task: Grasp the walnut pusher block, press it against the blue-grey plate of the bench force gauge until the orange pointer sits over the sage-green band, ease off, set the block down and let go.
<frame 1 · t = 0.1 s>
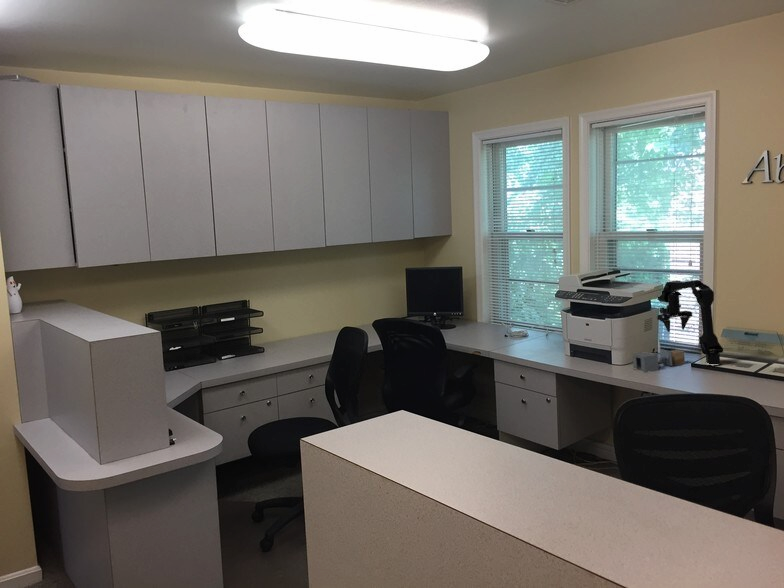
hand: (675, 330, 361), 15 cm above the table, fingers open, 9 cm apart
pusher block: (676, 364, 345), on the table
ink cartridge box: (651, 353, 378), on the table
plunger: (653, 358, 344), point 5 cm above the table, slide at 0.0 cm
gauge frame: (655, 367, 342), on the table
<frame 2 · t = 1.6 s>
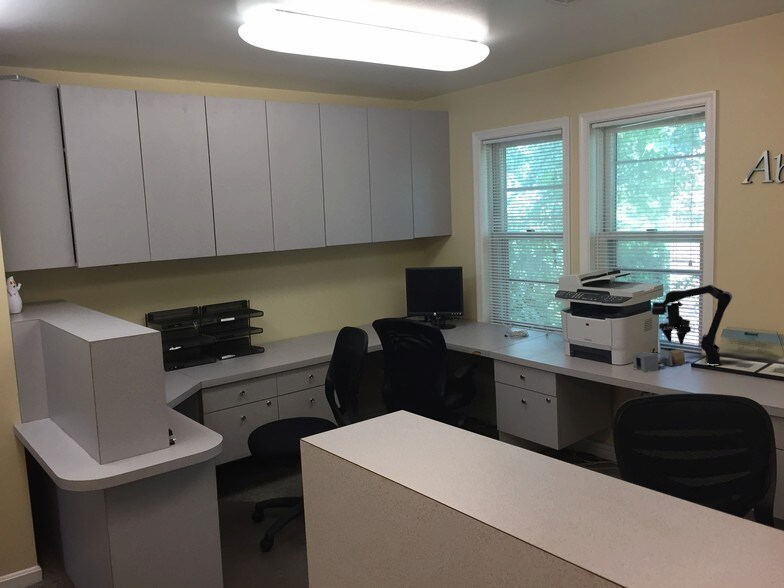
hand: (675, 343, 344), 11 cm above the table, fingers open, 9 cm apart
nothing on the table moved.
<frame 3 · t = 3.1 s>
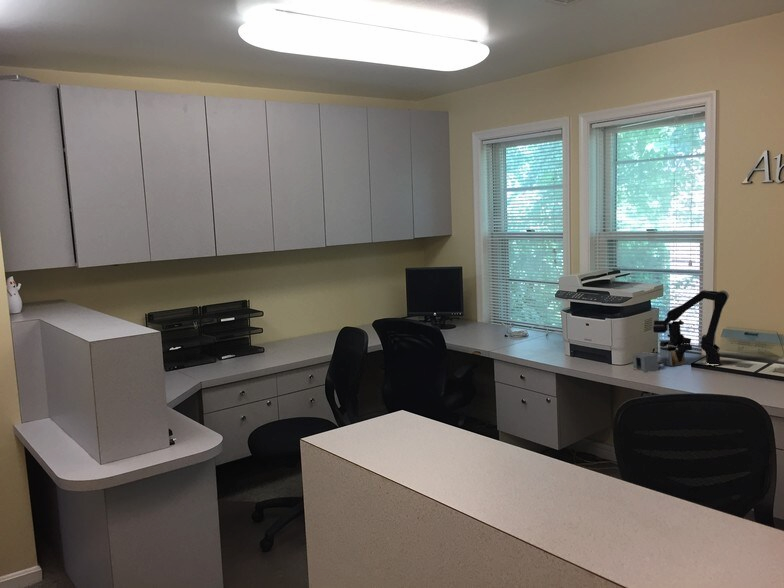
hand: (676, 361, 345), 2 cm above the table, fingers closed on pusher block, 5 cm apart
pusher block: (676, 364, 345), on the table, touching gripper
everything else where it was.
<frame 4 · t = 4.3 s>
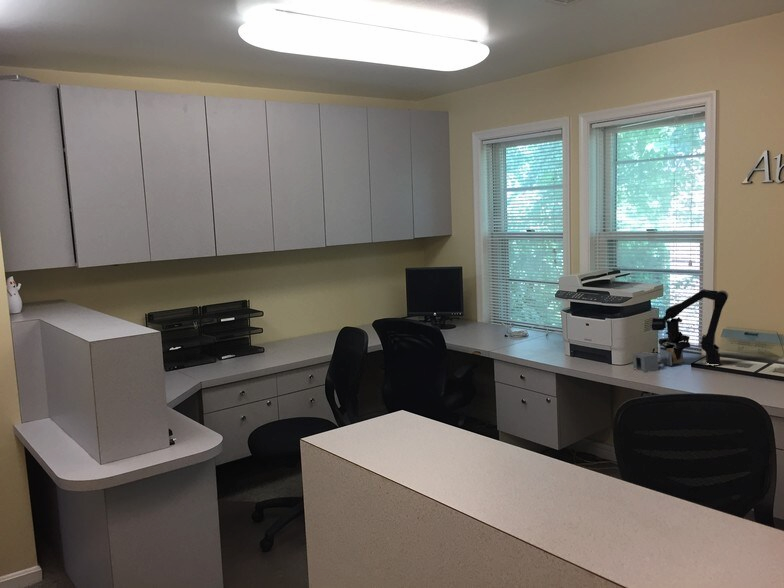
hand: (675, 358, 344), 3 cm above the table, fingers closed on pusher block, 5 cm apart
pusher block: (675, 361, 345), point 1 cm above the table, touching gripper
everything else where it was.
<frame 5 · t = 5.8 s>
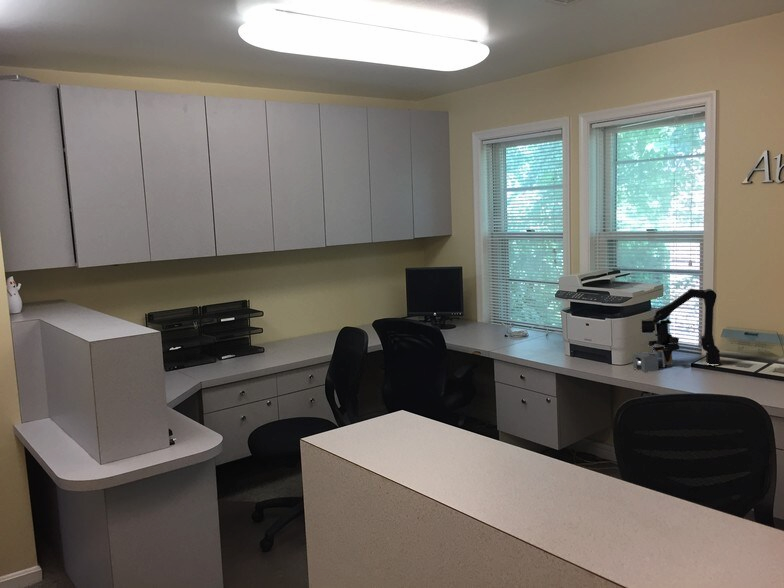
hand: (664, 360, 343), 3 cm above the table, fingers closed on pusher block, 5 cm apart
pusher block: (664, 363, 343), point 1 cm above the table, touching gripper
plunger: (645, 359, 343), point 5 cm above the table, slide at 4.4 cm
everything else where it was.
when the fingers open (2 cm above the table, at t = 7.6 s): pusher block stays where it is, on the table.
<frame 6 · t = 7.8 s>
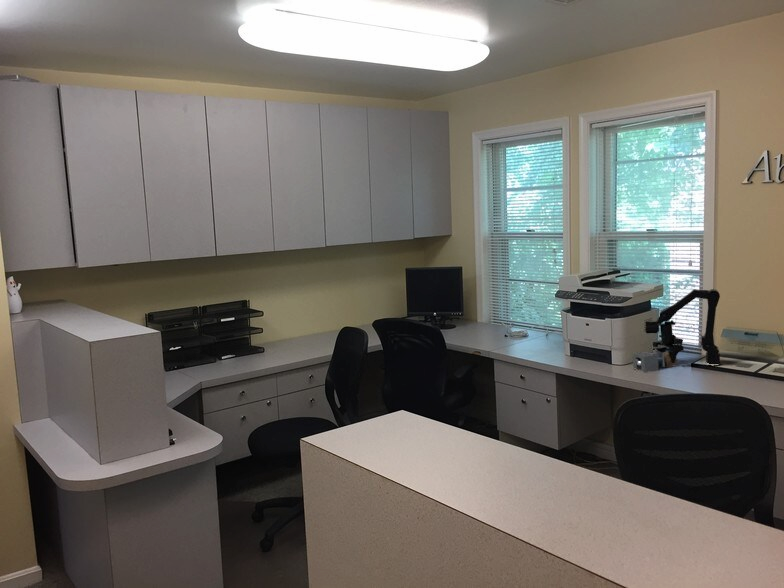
hand: (668, 361, 344), 2 cm above the table, fingers open, 7 cm apart
pusher block: (669, 365, 344), on the table
everything else where it was.
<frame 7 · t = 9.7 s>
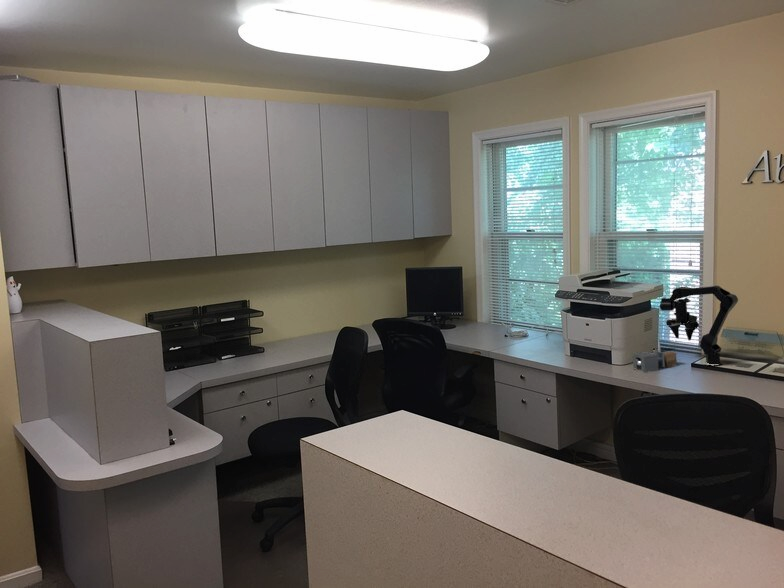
hand: (683, 339, 345), 13 cm above the table, fingers open, 9 cm apart
nothing on the table moved.
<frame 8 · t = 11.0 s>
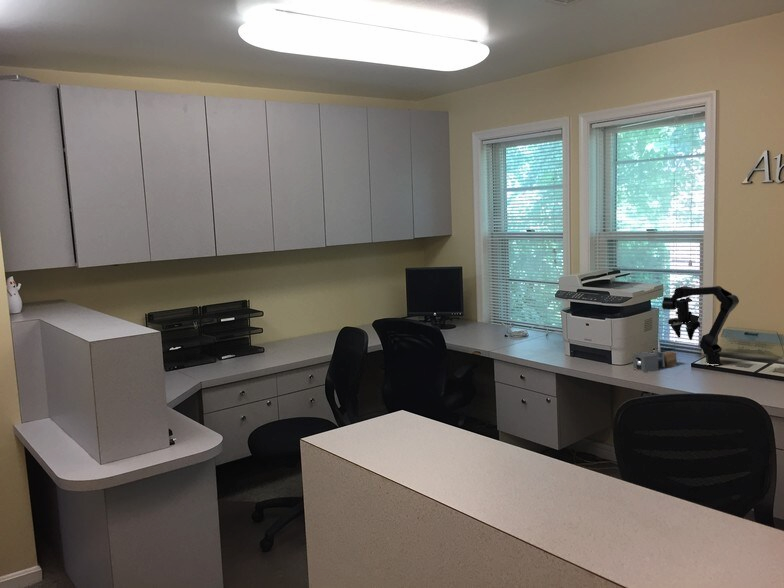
hand: (684, 338, 345), 13 cm above the table, fingers open, 9 cm apart
nothing on the table moved.
at the end: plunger slide at 4.4 cm; the gripper is holding nothing; pusher block tilted 0° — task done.
